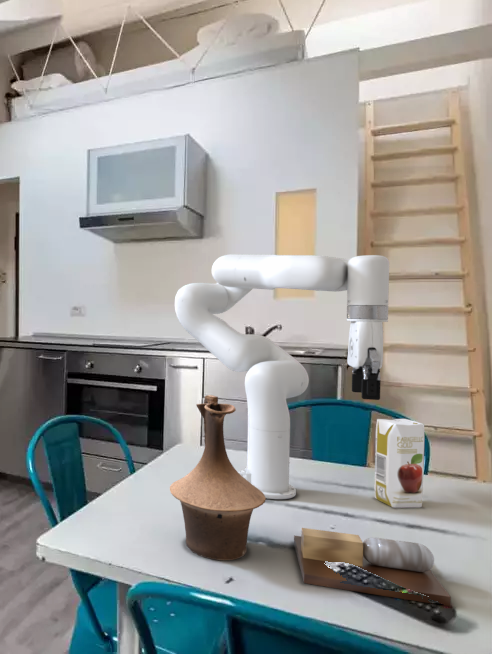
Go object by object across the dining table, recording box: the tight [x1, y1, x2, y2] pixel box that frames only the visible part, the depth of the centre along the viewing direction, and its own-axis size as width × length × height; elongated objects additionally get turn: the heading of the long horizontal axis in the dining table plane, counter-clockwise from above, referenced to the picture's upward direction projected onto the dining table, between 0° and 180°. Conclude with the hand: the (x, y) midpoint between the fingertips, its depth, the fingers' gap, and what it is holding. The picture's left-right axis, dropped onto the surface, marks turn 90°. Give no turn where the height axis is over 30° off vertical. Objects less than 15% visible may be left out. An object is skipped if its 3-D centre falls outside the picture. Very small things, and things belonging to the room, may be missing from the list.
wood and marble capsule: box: [300, 527, 435, 572], centre depth 92 cm, size 20×4×4 cm, turn 71°
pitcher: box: [169, 394, 267, 561], centre depth 101 cm, size 18×17×28 cm
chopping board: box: [293, 535, 452, 607], centre depth 92 cm, size 20×16×2 cm
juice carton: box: [373, 418, 425, 509], centre depth 125 cm, size 8×9×19 cm
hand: (365, 395), depth 114 cm, fingers open, 9 cm apart
